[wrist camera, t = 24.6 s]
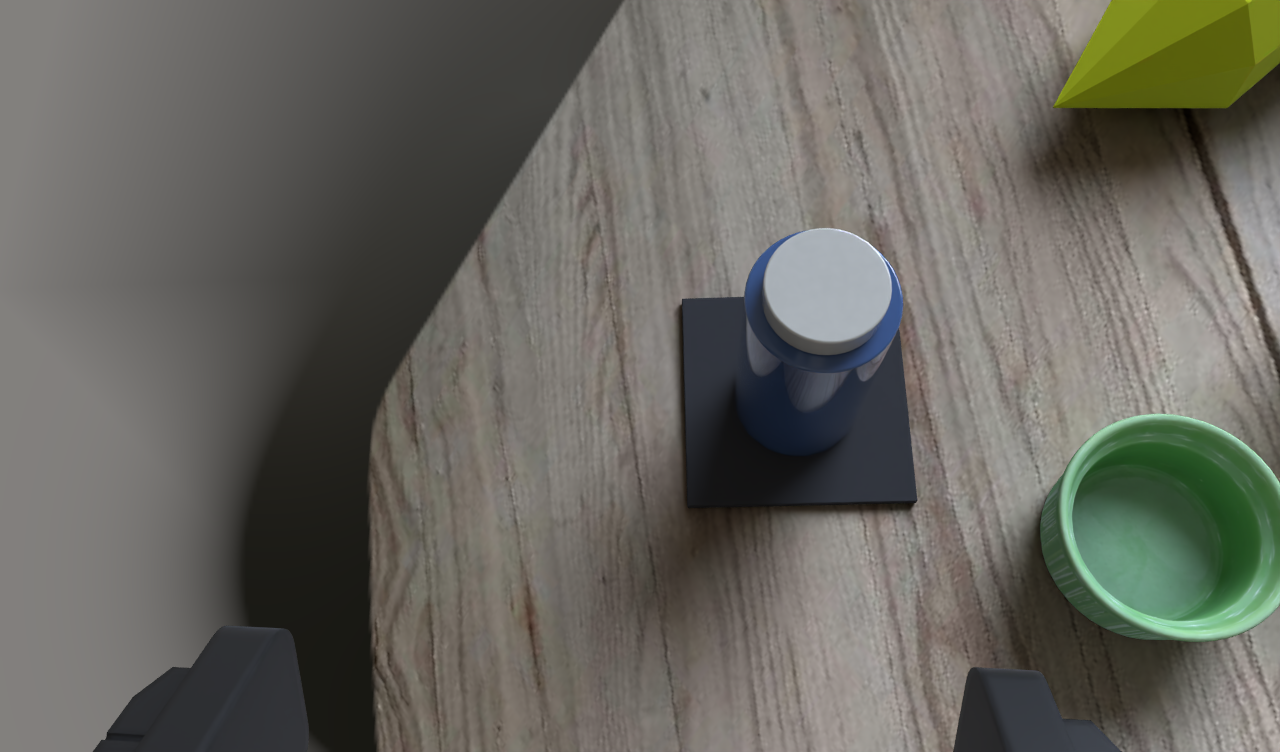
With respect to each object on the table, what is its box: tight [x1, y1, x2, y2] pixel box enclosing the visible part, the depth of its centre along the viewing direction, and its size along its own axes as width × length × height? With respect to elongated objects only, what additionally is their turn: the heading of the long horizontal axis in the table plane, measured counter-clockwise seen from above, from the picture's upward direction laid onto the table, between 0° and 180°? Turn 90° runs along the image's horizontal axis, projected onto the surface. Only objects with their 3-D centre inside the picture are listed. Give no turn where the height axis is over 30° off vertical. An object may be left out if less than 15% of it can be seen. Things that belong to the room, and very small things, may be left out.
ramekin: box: [1040, 414, 1280, 642], centre depth 42 cm, size 9×9×4 cm
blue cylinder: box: [734, 228, 903, 456], centre depth 41 cm, size 6×6×12 cm
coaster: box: [682, 297, 917, 508], centre depth 47 cm, size 10×10×1 cm
